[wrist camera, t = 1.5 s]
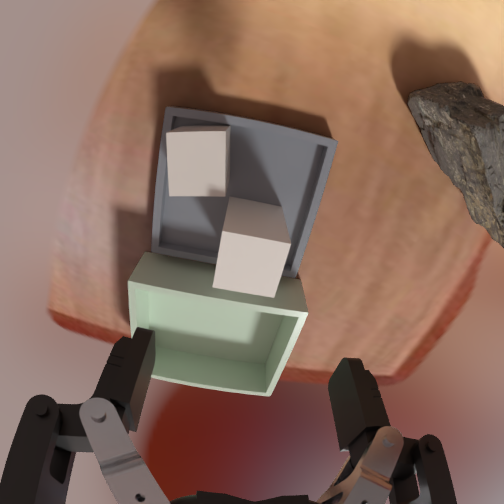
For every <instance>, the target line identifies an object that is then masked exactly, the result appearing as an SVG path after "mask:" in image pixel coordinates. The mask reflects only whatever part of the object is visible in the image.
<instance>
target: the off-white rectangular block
mask: <svg viewBox="0 0 504 504" xmlns="http://www.w3.org/2000/svg"><path fill="white" fill-rule="evenodd" d="M290 246H291V241H290V237H289V233H288V229H287V225H286V221H285V217H284V213H283V209H282V207H281V206H276V205H271V204H266V203H261V202H256V201H251V200H246V199H241V198H236V197H230V198H229V202H228V207H227V211H226V216H225V221H224V225H223V230H222V236H221V241H220V247H219V252H218V258H217V264H216V270H215V276H214V282H213V288H219V289H225V290H230V291H236V292H242V293H248V294H254V295H260V296H266V297H272V298H274V297H275V294H276V291H277V288H278V284H279V281H280V278H281V275H282V272H283V269H284V265H285V262H286V259H287V256H288V252H289V249H290Z"/></svg>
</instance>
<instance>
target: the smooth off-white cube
mask: <svg viewBox="0 0 504 504" xmlns="http://www.w3.org/2000/svg"><path fill="white" fill-rule="evenodd" d="M230 137H231V125H193V126H180V127H178V128H176V129H173V130H171V131H169V132H167V133H166V142H167V166H168V183H169V196H219V197H225V196H226V192H227V188H228V184H229V181H230Z"/></svg>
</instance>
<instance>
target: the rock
mask: <svg viewBox="0 0 504 504" xmlns="http://www.w3.org/2000/svg"><path fill="white" fill-rule="evenodd" d="M408 106H409V108H410V110H411V112H412V115H413V117H414V118H415V120H416V122H417V124H418V125H419V127H420V129H421V133H422V136H423V138H424V140H425V142H426V144H427V146H428V149H429V151H430V153H431V155H432V157H433V159H434V161H435V162H437V163H438V165H439V167H440V169H441V170H442V171H443V172H444V173H445V174H446V175H447V176H449V177H450V179H451V181H452V183H453V185H455V186H456V187H458V188H459V189H460V190H461V191H462V193H463V196H464V199H465V201H466V204H467V208H468V210H469V214H470V215H471V218H472V220H473V221H474V222H475V223H476V224H479V225H481V226H483V227H484V228H485V229H486V230H487V231H488V233H489V234H490V236H491V238H492V239H493V240H495V241H496V242H498V243H499V244H500V245H501V246H502V247H503V248H504V106H503V105H501V104H499V103H496V102H494V101H492V100H489V99H486V98H484V96H483V94H482V91H481V90H480V88H479V86H478V85H476V84H474V83H473V84H472V83H468V84H467V83H463V82H457V83H449V84H448V83H440V84H436V85H434V86H432V87H429V88H425V89H421V90H416V91H414V92H412V93H410V94H409V98H408Z"/></svg>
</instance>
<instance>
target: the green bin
mask: <svg viewBox="0 0 504 504" xmlns="http://www.w3.org/2000/svg"><path fill="white" fill-rule="evenodd" d="M215 270H216V265H215V264H209V263H204V262H198V261H193V260H188V259H182V258H177V257H172V256H166V255H161V254H156V253H151V252H146V251H145V252H144V254H143V256H142V257H141V259H140V261H139V262H138V264H137V266H136V267H135V269H134V271H133V272H132V274H131V276H130V278H129V279H128V297H129V313H130V326H131V337H133V335H134V332H135V330H136V328H137V327H141V328H145V329H150V330H154V331H155V348H156V357H155V364H154V368H153V372H152V375H151V378H156V379H160V380H165V381H169V382H175V383H179V384H185V385H191V386H196V387H201V388H207V389H214V390H220V391H227V392H235V393H243V394H252V395H261V396H271V394H272V392H273V390H274V388H275V386H276V384H277V381H278V379H279V377H280V375H281V373H282V371H283V369H284V367H285V365H286V362H287V360H288V358H289V356H290V354H291V351H292V349H293V347H294V345H295V343H296V340H297V338H298V336H299V334H300V331H301V329H302V327H303V324H304V322H305V320H306V317H307V315H308V308H307V304H306V299H305V295H304V291H303V286H302V282H301V280H300V279H294V278H288V277H282V276H281V278H280V281H279V284H278V288H277V291H276V294H275V297H274V298H272V297H266V296H260V295H254V294H248V293H242V292H236V291H230V290H225V289H219V288H213V282H214V276H215Z"/></svg>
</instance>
